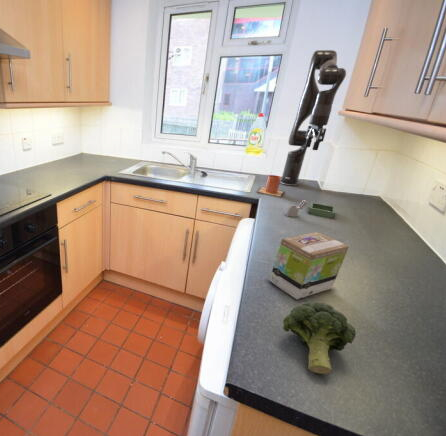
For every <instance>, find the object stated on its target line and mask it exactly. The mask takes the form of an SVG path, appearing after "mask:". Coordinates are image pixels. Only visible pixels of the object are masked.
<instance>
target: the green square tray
mask: <svg viewBox="0 0 446 436" xmlns="http://www.w3.org/2000/svg"><path fill="white" fill-rule="evenodd" d="M335 212H336V208H335V206H333V205H329V204H328V205H327V204H322V203H316V202H311V203H310V206H309V209H308V214H309V215H313V216H317V217H318V216H319V217H323V218H329V219H334V216H335Z"/></svg>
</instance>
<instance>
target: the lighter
mask: <svg viewBox="0 0 446 436" xmlns="http://www.w3.org/2000/svg"><path fill="white" fill-rule="evenodd" d="M307 204H308V201H307V200H305V199H303V200H302V201H301V202H300V204H298V205H296V204H292V205H291V206H288V207H287V211H286V217H292V218H293V217H294V218H297V217H298V213H299V210H303V209H304V208H305V206H306V205H307Z"/></svg>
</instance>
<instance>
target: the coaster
mask: <svg viewBox="0 0 446 436" xmlns="http://www.w3.org/2000/svg"><path fill="white" fill-rule="evenodd" d="M265 188H266V187H264V186H263V187H260V188H259V190H258V191H257V194H262V195H267V196H273V197H278V198H281V197H282V196H283V193H284V190H280V189H278V191H277V193H268V192H265Z"/></svg>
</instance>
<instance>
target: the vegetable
mask: <svg viewBox="0 0 446 436" xmlns="http://www.w3.org/2000/svg"><path fill="white" fill-rule="evenodd" d="M282 323H283V326H282V329H283V331H284V332H291V333H292V334H294V335H295V336H297V337H298V338H299V339H300V340H301V341H302V342H303V343H306V345H307V347H308V348H309V351H308V356H307V357H308V358H307V359H308V365H307V366H308V367H307V369H308V370H309V371H310V372H312V373H314V374H319V375H328V374H330V373H332V372H333V368H332V365H331V361H330V360H331V358H330V357H329V350H330V351H337V352H341V351H343V350H345V348H346V347H345V346H347V344H350V345H351V344H352V343H353V342H354V340H355V338H356V335H357V333H356V328H355V327H354V326H353V325H352V324H351V323H349V322H348V318H347V317H346V316H345V314H343V313H342V312H341V311H339V310H337V309H335V308H334V306H332V305H331V304H328V303H325V302H320V301H314V302H309V301H306V302H302V303H301V305H297V306H294V307H292V309H291V310H290V313H289V314H288V313H287V315H286V316H285V317H284V318H283V321H282Z"/></svg>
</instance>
